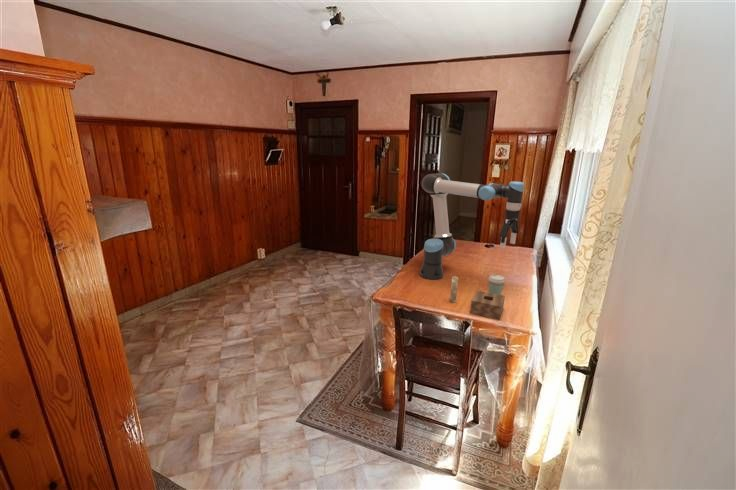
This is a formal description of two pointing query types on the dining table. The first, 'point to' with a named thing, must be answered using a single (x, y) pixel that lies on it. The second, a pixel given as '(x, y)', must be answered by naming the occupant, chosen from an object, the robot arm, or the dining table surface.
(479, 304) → the bore block
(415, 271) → the dining table surface
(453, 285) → the dowel
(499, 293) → the coffee cup
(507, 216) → the robot arm
